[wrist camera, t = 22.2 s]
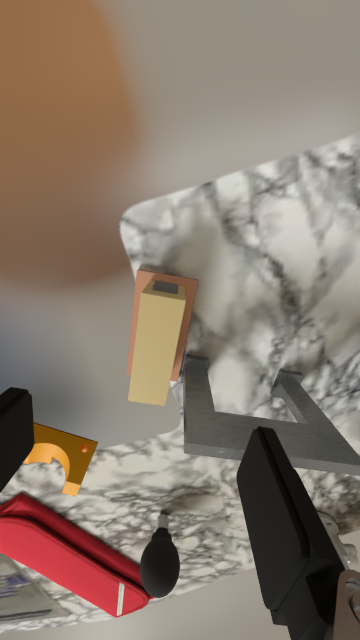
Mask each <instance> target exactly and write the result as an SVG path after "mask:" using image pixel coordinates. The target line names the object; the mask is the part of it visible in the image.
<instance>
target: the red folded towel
mask: <svg viewBox="0 0 360 640" xmlns="http://www.w3.org/2000/svg"><path fill="white" fill-rule="evenodd" d="M0 553H2V554H4V555H7V556H8V557H10V558H12V559H14V560H16V561H18V562H20V563H22V564H24V565H26V566H28V567H29V568H31V569H33V570H35V571H37V572H39V573H40V574H42V575H44V576H46V577H47V578H49V579H50V580H52V581H54V582H55V583H57V584H59V585H61V586H62V587H64V588H66V589H68V590H70V591H72V592H73V593H75V594H77V595H78V596H80V597H82V598H84V599H85V600H87V601H89V602H91V603H92V604H94V605H96V606H97V607H99V608H101V609H102V610H104V611H106V612H107V613H109V614H110V615H112V616H114V617H120V616H123V615H126V614H129V613H132V612H134V611H137V610H139V609H142V608H143V607H145V606H146V605H147V604H148V602H149V600H150V599H153V598H156V597H153V596H151V595H150V594H148V593H147V591H146V590H145V588H144V587H143V584H142V581H141V577H140V567H139V566H138V565H136V564H135V563H133V562H132V561H130V560H129V559H127V558H125V557H124V556H122V555H121V554H119V553H118V552H116V551H114V550H113V549H111V548H110V547H108V546H106V545H105V544H103V543H102V542H100V541H99V540H97V539H96V538H94V537H93V536H91V535H90V534H88V533H86V532H85V531H83V530H82V529H80V528H79V527H77V526H75V525H74V524H72V523H70V522H69V521H67V520H66V519H64V518H63V517H61V516H59V515H58V514H56V513H54V512H53V511H51V510H49V509H48V508H46V507H44V506H43V505H41V504H39V503H38V502H36V501H34V500H33V499H31V498H29V497H28V496H26V495H24V494H23V493H20V494H18V495H17V496H16V497H15V498H13V499H12V500H10V501H8V502H7V503H5V504H3V505H2V506H0Z"/></svg>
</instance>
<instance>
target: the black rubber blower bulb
mask: <svg viewBox="0 0 360 640" xmlns="http://www.w3.org/2000/svg"><path fill="white" fill-rule="evenodd" d="M168 520H169V518H168V516H166V515H164V514H161V515H159V516H158V517H157V528H156V532H155V533H154V534H153V535H152V540H151V541H150V542H149V543H148V545H147V546H146V548H145V550H144V552H143V554H142V557H141V562H140V577H141V581H142V584H143V587H144V588H145V590H146V591H147V593H148V594H150V595H151V596H153V597H156V598H161V597H164V596H166V595H168V594H169V593H170V592H171V591H172V589H173V588H174V586H175V584H176V582H177V579H178V576H179V570H180V560H179V555H178V552H177V549H176V547H175V545H174V544H173V542H172V537H171V534H170V533H168V522H169V521H168Z"/></svg>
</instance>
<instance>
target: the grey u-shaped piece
mask: <svg viewBox="0 0 360 640" xmlns="http://www.w3.org/2000/svg"><path fill="white" fill-rule="evenodd" d="M208 364H209V359H208V358H204V357H198V356H191V355H186V359H185V364H184V368H183V373H182V378H181V383H183V407H184V453H186V454H194V455H202V456H210V457H217V458H225V459H233V460H241V461H242V458H243V455H244V453H245V450H246V447H247V445H248V442H249V439H250V437H251V434H252V431H253V430H254V429H257V427H258V426H262V427H268V428H273V429H274V431H275V432H276V434H277V436H278V438H279V440H280V442H281V444H282V446H283V449H284V451H285V453H286V455H287V457H288V459H289V461H290V463H291V465H292V467H295V468H303V469H311V470H319V471H327V472H334V473H342V474H350V475H358V476H360V457H359V455H358V454H357V453H356V452H355V451H354V449H353V448H352V447H351V446H350V445H349V443H348V442H347V441H346V440H345V438H344V437H343V436H342V435H341V434H340V432H339V431H338V430H337V429H336V428H335V426H334V425H333V424H332V423H331V422H330V420H329V419H328V418H327V417H326V415H325V414H324V413H323V412H322V411H321V409H320V408H319V407H318V406H317V405H316V403H315V402H314V401H313V400H312V398H311V397H310V396H309V395H308V394H307V392H306V391H305V390H304V389H303V388H302V386H301V385H300V383H301V381H302V379H303V377H304V376H303V375H302V373H301V372H294V371H288V370H281V369H280V370H279V373H278V375H277V378H276V380H275V383H274V385H273V388H272V390H271V392H270V393H271V395H272V396H273V397H279V398H282V399H283V400H284V402H285V403H286V405H287V406H288V408H289V410H290V411H291V413H292V414H293V416H294V417H295V419H296V420H297V422H298V423H294V422H287V421H280V420H273V419H266V418H259V417H251V416H244V415H237V414H230V413H223V412H216V411H215V409H214V404H213V399H212V394H211V389H210V384H209V379H208V374H207V368H208Z"/></svg>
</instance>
